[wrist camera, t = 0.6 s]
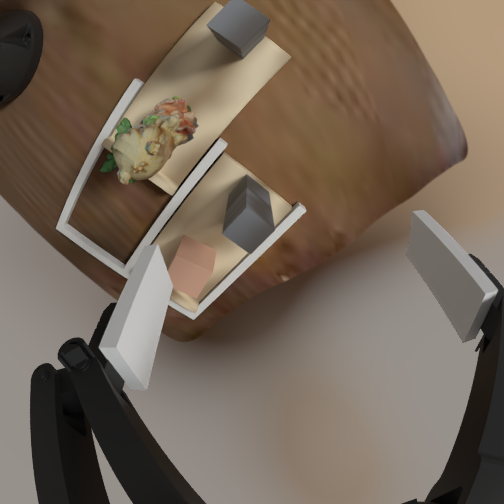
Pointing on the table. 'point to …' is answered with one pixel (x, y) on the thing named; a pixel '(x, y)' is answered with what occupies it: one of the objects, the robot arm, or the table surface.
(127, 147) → the figurine
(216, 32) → the strip
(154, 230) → the lane board
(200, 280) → the terracotta cube
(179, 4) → the table surface
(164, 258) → the strip
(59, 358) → the robot arm
